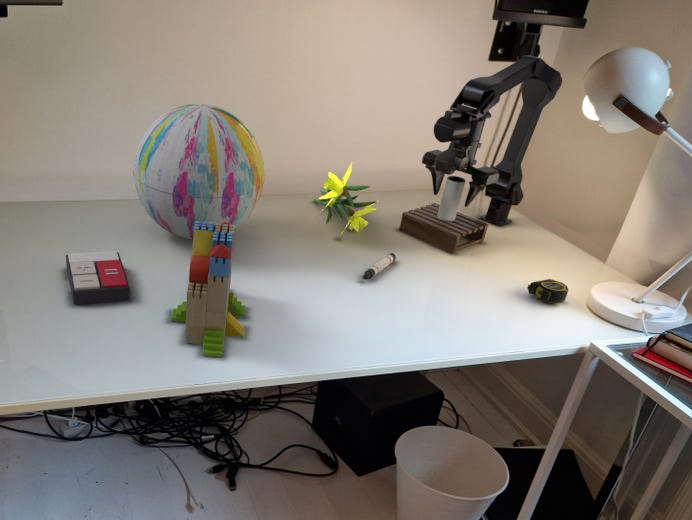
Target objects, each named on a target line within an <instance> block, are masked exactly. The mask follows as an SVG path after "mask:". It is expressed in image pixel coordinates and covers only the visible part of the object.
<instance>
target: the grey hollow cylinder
mask: <svg viewBox="0 0 692 520" xmlns="http://www.w3.org/2000/svg"><path fill="white" fill-rule="evenodd" d="M466 181H467V180H466V179H465V178H464V177H462V176H457V175H448V177H446V181H445V185H444V187H443V188H444V190H443V192H442V195H441V199H440V203H439V205H440V207H439V211H438V214H437V217H438V218H439V219H440V220H443V221H454V220H455V218H456V214H457V212H459V211H458V210H459V207H460V203H461V199H462V197H463V194H464V190H465V186H466Z"/></svg>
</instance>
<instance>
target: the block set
mask: <svg viewBox="0 0 692 520" xmlns="http://www.w3.org/2000/svg"><path fill="white" fill-rule="evenodd" d="M201 226H202V227H201ZM201 226H200V221H195V225H194V233H193V240H192V248H191V249H192V251H191V255H190V261H189V262H190V263H189V272H188V273H189V274H188V285H187V289H186V301H182V303H181V304H178V305H177V308H172V312H171V316H170V321H171V322H176V323H177V322H178V323H185V339H184V340H185V343H186V344H193V345H202V356H205V357H219V358H222V357H223V354H224V353H223V352H224V345H225V336H226V337H235V338H236V337H237V338H244V337H245V327H244V326H243V324H242V323H241V322H239V320H238V319H237V318H241V319H242V318H243V319H245V318H246V311H247V310H246V309H247V306H246V305H243V304H242V303H243V301H241V300H238V296H234V292H231V291H230V289H231V280H232V269H233V268H232V267H233V259H234V258H233V257H234V244H235V240H234V239H235V231H236V229H235V225H229V224H228V223H226V222H223V223H221V224H219V223H216V225H215V226H214V223H213V222H209V226H208V227H207V222H203V223H202V225H201Z"/></svg>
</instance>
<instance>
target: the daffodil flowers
mask: <svg viewBox="0 0 692 520" xmlns="http://www.w3.org/2000/svg"><path fill="white" fill-rule="evenodd" d="M352 170H353V162H351V163H350V164H349V167H348V168H347V170H346V172H345V174H344V176H343V177H342V180H341V179H339V177H338V176H337V175H336V174H334V173H333V172H330V171H328V172H327V175H328V177H327V178H326V180H325V182H324V184H323V187H322V188H320V190H319V192H320V193H321V195H322V196H320V197H319V198H318V199H316V198H313V201H314V202H315V203H317V204H319V205H323V206H324V208H323V210H325V209H326V210H327V215H326V219H325V225H328V224H329V222H330V221H331V219H332V216H333V213H332V209H333V211H334V212H335V213H336V215H337V216H338V218H339V220H340V221H341V223H342V224H344V218H343V217H344V216H343V214H344V215H345V216H346V217H347V218H348V222H347V224H346V226H345V228H344V229H343V230H342V232H341V233H340V235H342V234H343V232H344V231H345V229H346V228H347V227H348V228H349V229H350V230H351V231H352V230H353V229H354V230H355V231H356V232H357V233H358V232H359V230H360V231H363V230H364V228H366V227H367V225H368V224H369V222H368V221H367V220H365V219H364V218H362V217H361V216H364V215H366V214H369V213H371V212H374V211H376V210H377V208H376V207H373V205H375V204H376V203H377V202H378V200H373V201H364V202H363V201H361V202H354V200H356V199H357V198H358V197H359V195H353V196H352V195H351V194H350V192H359V191H363V190H366V189H369V188H371V186H370V185H360V184H359V185H358V184H357V185H353V184H347V181H348V179H349V178H350V175H351V173H352ZM349 191H350V192H349ZM343 197H345V198H343ZM350 207H351V208H350ZM331 208H332V209H331ZM352 208H353V209H352ZM361 208H363V209H361ZM354 209H361V210H358V211H355V210H354ZM342 213H343V214H342Z"/></svg>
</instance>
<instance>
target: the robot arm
mask: <svg viewBox="0 0 692 520" xmlns="http://www.w3.org/2000/svg"><path fill="white" fill-rule="evenodd" d="M520 84H522V87H521V90H520V93H521V98H522V106H521V108H520V111H519V114H518V117H517V119H516V122H515V124H514V128H513V130H512V133H511V135H510V138H509V141H508V144H507V147H506V149H505V151H504V154H503V157H502V159H501V160H500V162H499V163H498V164H496V165H495V166H494V165H492V167H490V166H486V165H485V166H481V167H475V165H476V164H477V162H478V161H477V159H476V155H477V151H478V149H481V147H482V142H480V141H481V138H482V134H483V131H484V127H485V123H486V120H487V119H491V118H492V113H491V112H490V110H491V109H492V108H494V107H495V106H496V105H497V104H498V103H500V100H501V96H503V95H504V94H506V93H507V92H509V91H511V90H512V89H514V88H516V87H517V86H519V85H520ZM562 85H563V77H562V76H561V72H560V71H559V70H556V69H555V68H554V67H552V65H551V66H550V65H549V64H548V63H547V62H546V61H545V60H544V59H542V57H539V56H534V55H530V54H526V55H522V56H521V57H520V58H519V59H518V60H516V61H515V62H513V63H512V64H510V65H507V66H506V67H505V68H503V69H501V70H499V71H498V72H496V73H494V74H492V75H489V76H479V77H475V78H472V79H470V80H468V81H467V82H466V83H465V85H464V86H463V87H462V89H461V90H460V92H459V93H458V94H457V96H456V98H455V99H454V100H453V102H452V104H451V105H450V107H449V109H448V110H445V111H444V115H442V116H441V117H439V118H438V119H437V120H436V121H435V123H434V125H433V136H434V138H435V139H436V140H437V141H438V142H439V143H449V145H448V147H447V149H445V150H443V151H442V150H439V149H433V150H429V151H426V152H425V153H423V156H422V158H421V159H422V160H421V164H423V165H425V169H427V170H428V172H429V173H430V176H431V180H432V190H433V191H432V192H433V195H434V196H438V194H439V192H440V190H441V187H442V184H443V181H444V178H445V175H447V176H452V175H453V174H454V173H455V172H461V173H464V174H467V175H470V176H471V177H470V178H471V180H470V181H468V185H469V188H468V192H467V195H466V198H465V201H464V207H465V208H468V207H469V206H470V205H471V203H472V202H473V201H474V199H475V198H476V197H477V196H478V195H479V193H480V192H481V191H482V190H483V189H484V196H485V197H488V198H490V201H489V204H488V208H487V211H486V214H484V215H482V216H480V217H479V219H480V220H482V221H485V222H487V223H490V224H492V225H494V226H497V227H502V226H505V225H507V224H510V223H512V222H513V220H512V219H510V218H508V217H509V214H510V212H511V210H512V206H517V207H518V206H519V204H521V203H522V201H523V198H524V192H523V189H522V186H521V184H522V181H523V177H524V175H523V169H522V163H523V161H524V158H525V155H526V153H527V150H528V147H529V145H530V143H531V140H532V137H533V134H534V132H535V130H536V127H537V124H538V122H539V120H540V117H541V115H542V112H543V110H544V108H545V107H546V106H547V105H549V104H550V103H551V102H552V101H553V100H554V99H555V97H556V95H557V93H558V92H559V90H560V89H561V87H562Z"/></svg>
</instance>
